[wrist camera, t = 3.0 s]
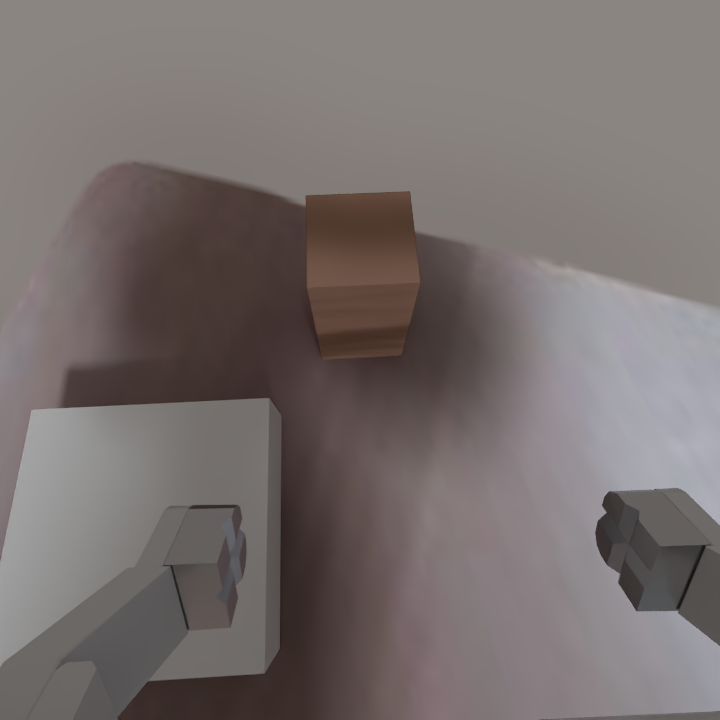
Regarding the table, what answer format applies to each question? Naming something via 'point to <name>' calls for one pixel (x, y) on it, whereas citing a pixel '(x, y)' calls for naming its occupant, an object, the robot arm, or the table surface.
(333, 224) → the terracotta block
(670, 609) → the robot arm
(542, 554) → the table surface
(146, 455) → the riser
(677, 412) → the table surface
